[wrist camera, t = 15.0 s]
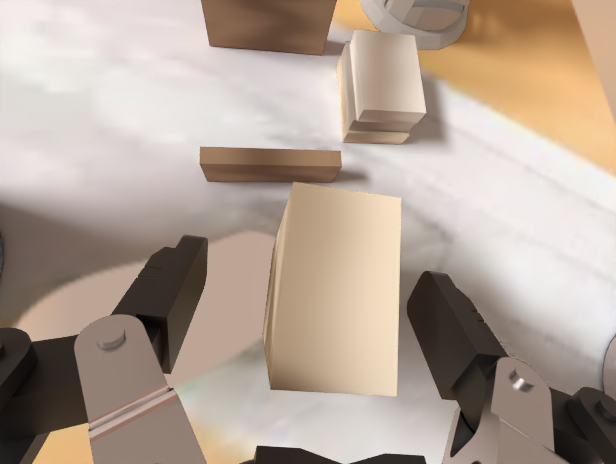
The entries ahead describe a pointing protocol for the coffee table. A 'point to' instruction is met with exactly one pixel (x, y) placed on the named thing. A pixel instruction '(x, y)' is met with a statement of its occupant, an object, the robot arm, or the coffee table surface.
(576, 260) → the coffee table surface
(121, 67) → the coffee table surface
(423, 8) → the french press
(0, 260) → the moka pot
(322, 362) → the light wooden block
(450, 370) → the robot arm
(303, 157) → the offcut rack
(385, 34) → the offcut stack
